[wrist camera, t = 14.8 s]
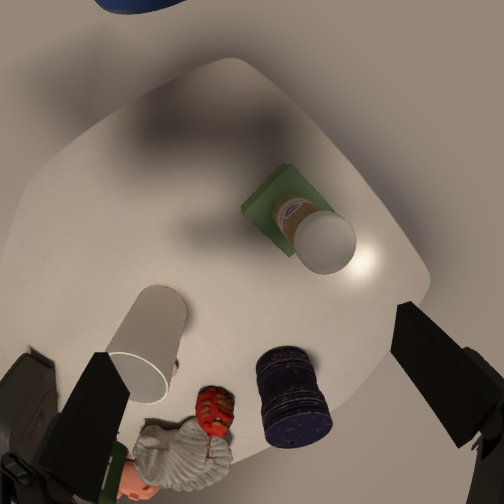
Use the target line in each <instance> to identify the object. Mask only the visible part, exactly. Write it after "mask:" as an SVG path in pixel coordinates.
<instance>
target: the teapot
mask: <svg viewBox="0 0 504 504" xmlns="http://www.w3.org/2000/svg"><path fill="white" fill-rule="evenodd" d="M159 489H160V486H159V485H156V486H149V485H147V484H145V483H144V482H143V481H142V480H141V479H140V478H139V476H138V475H137V473H136V468H135V466H134V462H132V461H125V465H124V469H123V473H122V477H121V482H120V486H119V491H118V495H117V499H119V498H120V497H121V495H122V493H124V494H126V495H128V496H129V498H130V499H132V500H136V501H137V500H139V499H149V498H151V497H152V496H153V495H154V494H155V493H156V492H157V491H158V490H159Z"/></svg>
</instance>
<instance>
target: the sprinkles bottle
mask: <svg viewBox="0 0 504 504" xmlns="http://www.w3.org/2000/svg"><path fill="white" fill-rule="evenodd" d="M272 215H273V220H274V222H275V224H276V225H277V226H278V227H279V228H280V230H281V231H282V233H283V234H284V235H285V237H286V238H287V239H288V241H289V242H290V244H291V245H292V246H293V247H294V248H295V251H296V254H297V256H298V257H299V259H300V260H301V261H302V263H303V264H304V265H305V266H306V267H307V268H308V269H309V270H311V271H313V272H315V273H318V274H331V273H335V272H337V271H339V270H341V269H342V268H344V267H345V266H346V265H347V264H348V263H349V262H350V260H351V259H352V257H353V255H354V252H355V249H356V235H355V232H354V229H353V227H352V226H351V224H350V223H349V222H348V221H347V220H345V219H344V218H343V217H341V216H339V215H338V214H336V213H333V212H330V211H326V210H324V209H322V208H320V207H318V206H317V205H316V204H314V203H312V202H310V201H308V200H306V199H304V198H302V197H301V196H299V195H295V194H288V195H285V196H283V197H281V198H279V199H278V200H277V201H276V203H275V205H274V207H273V212H272Z"/></svg>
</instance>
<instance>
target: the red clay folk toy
mask: <svg viewBox="0 0 504 504" xmlns="http://www.w3.org/2000/svg"><path fill="white" fill-rule="evenodd" d="M195 409H196V417H197V419H198V424H199V426H200V427H201V429H202V430H203V431H204V432H205V433H206V434H207V437H208V441H209V443H208V444H207V445H206V446H207V448H208V449H207V453H206V457H205V460H206V461H205V460H204V461H205V462H204V466H205V465H206V462H207V461H209V459H211V460H212V462H216V457H209V449H210V447H211V446H210V442H211V440H212V437H213V436H218V437H220V438H223V437H225V436H226V434H227V431H228V429H229V428H230V426H231V424H232V422H233V419H234V415H233V412H234V403H233V400H232V395H230V394H227V393H225V391H224V390H222V389H219V388H216V387H208V388H207V389H206V390H205V391H203V392H201V393H200V394H199V395H198V397H197V402H196V406H195Z"/></svg>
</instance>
